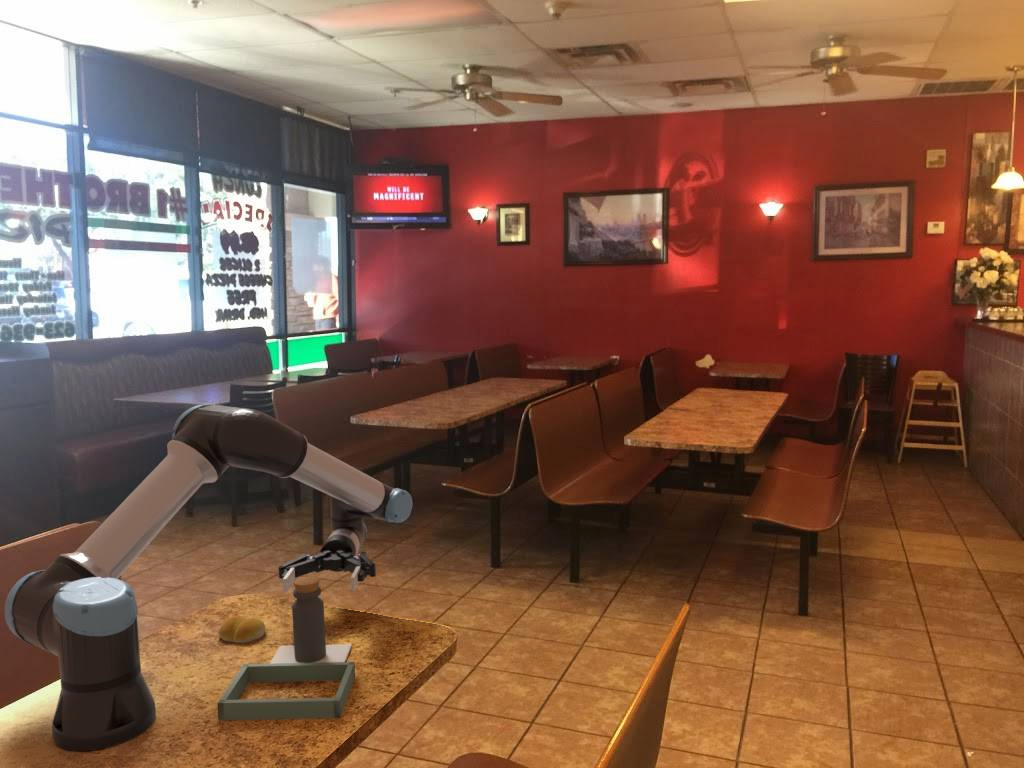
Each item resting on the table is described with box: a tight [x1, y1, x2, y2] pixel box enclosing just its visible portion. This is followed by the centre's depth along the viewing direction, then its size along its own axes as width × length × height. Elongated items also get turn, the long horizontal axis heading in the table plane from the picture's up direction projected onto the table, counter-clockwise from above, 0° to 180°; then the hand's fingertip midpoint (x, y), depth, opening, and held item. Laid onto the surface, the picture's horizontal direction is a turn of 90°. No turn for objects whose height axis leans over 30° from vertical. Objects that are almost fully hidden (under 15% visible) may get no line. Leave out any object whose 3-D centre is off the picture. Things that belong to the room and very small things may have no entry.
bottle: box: [291, 575, 327, 663], centre depth 158 cm, size 6×6×15 cm
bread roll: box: [217, 615, 266, 644], centre depth 170 cm, size 8×9×4 cm
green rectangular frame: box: [217, 661, 356, 721], centre depth 144 cm, size 20×14×3 cm
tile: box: [268, 643, 353, 664], centre depth 159 cm, size 14×10×1 cm
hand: (318, 584), depth 167 cm, fingers open, 13 cm apart
